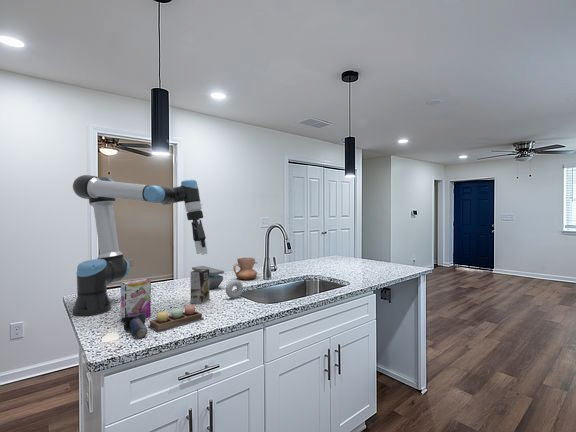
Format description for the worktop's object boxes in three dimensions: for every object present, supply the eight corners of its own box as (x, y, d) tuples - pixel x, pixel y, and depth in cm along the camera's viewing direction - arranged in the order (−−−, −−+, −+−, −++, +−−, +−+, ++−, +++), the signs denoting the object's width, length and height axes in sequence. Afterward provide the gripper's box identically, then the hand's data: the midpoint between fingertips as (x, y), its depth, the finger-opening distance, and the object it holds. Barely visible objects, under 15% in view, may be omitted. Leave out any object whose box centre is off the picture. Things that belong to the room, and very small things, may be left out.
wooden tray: (148, 326, 126) (148, 320, 126) (193, 314, 140) (193, 309, 140) (157, 332, 120) (157, 326, 120) (203, 319, 134) (203, 313, 134)
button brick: (183, 312, 134) (182, 306, 134) (191, 310, 137) (191, 304, 137) (187, 314, 131) (187, 308, 131) (196, 312, 134) (196, 306, 134)
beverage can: (124, 334, 122) (133, 346, 113) (120, 316, 120) (128, 326, 111) (148, 324, 128) (158, 334, 119) (144, 307, 126) (154, 316, 117)
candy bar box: (125, 323, 130) (125, 284, 129) (120, 321, 133) (119, 282, 132) (151, 316, 138) (151, 279, 138) (146, 314, 141) (145, 278, 141)
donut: (227, 300, 162) (227, 281, 162) (224, 299, 165) (224, 280, 165) (244, 297, 169) (244, 278, 168) (240, 296, 171) (240, 277, 171)
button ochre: (155, 319, 125) (155, 313, 125) (165, 317, 128) (165, 310, 128) (159, 322, 123) (159, 315, 123) (170, 319, 126) (170, 313, 126)
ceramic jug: (254, 275, 226) (253, 256, 225) (262, 279, 213) (261, 258, 213) (230, 278, 217) (229, 258, 217) (236, 282, 204) (236, 261, 204)
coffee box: (201, 304, 156) (201, 272, 156) (190, 303, 158) (189, 271, 157) (210, 299, 165) (209, 268, 165) (198, 298, 167) (198, 268, 166)
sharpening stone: (224, 289, 187) (224, 270, 187) (212, 291, 181) (212, 272, 181) (203, 282, 205) (203, 265, 205) (192, 284, 199) (192, 267, 199)
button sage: (169, 316, 130) (169, 309, 130) (179, 313, 133) (179, 307, 133) (174, 318, 127) (174, 312, 127) (183, 315, 130) (183, 309, 130)
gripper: (206, 207, 143) (215, 252, 143) (197, 212, 166) (204, 251, 165) (190, 209, 140) (198, 256, 140) (183, 214, 162) (190, 254, 162)
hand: (202, 254), depth 152 cm, fingers open, 13 cm apart
